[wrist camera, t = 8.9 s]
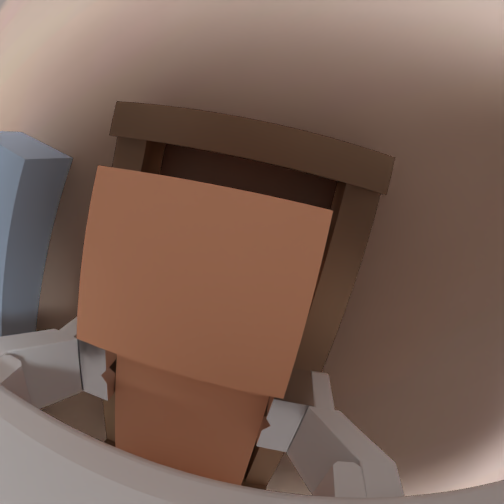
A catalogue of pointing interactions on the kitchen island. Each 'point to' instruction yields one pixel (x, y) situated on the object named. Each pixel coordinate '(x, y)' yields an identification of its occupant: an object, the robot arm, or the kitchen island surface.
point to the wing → (26, 224)
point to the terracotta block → (196, 311)
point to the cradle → (284, 155)
